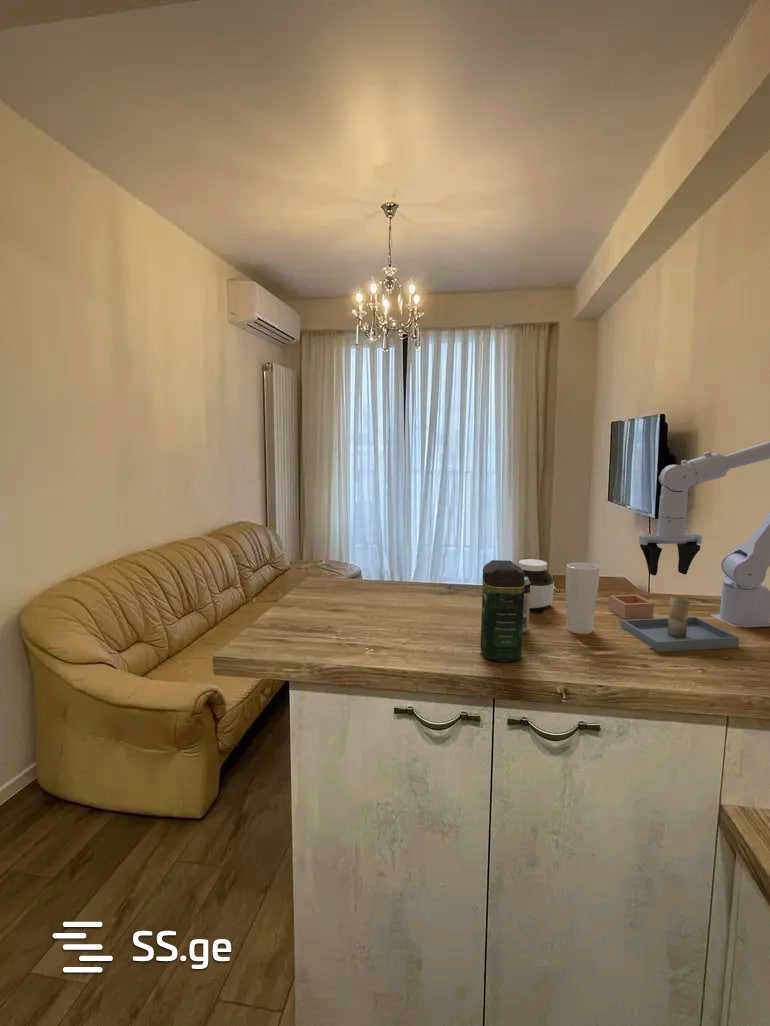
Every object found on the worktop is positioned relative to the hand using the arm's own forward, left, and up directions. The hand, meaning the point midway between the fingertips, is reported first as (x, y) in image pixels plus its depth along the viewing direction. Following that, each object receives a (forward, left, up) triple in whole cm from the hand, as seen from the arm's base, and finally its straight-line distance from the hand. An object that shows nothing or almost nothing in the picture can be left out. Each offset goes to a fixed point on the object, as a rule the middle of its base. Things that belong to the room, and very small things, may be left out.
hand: (667, 573), depth 129 cm
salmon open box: (+8, -1, -10) cm, 13 cm away
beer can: (+38, +4, -11) cm, 40 cm away
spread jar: (+31, -10, -11) cm, 34 cm away
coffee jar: (+46, +16, -11) cm, 50 cm away
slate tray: (+6, +13, -10) cm, 18 cm away
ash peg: (+6, +13, -10) cm, 17 cm away
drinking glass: (+25, +7, -11) cm, 28 cm away
